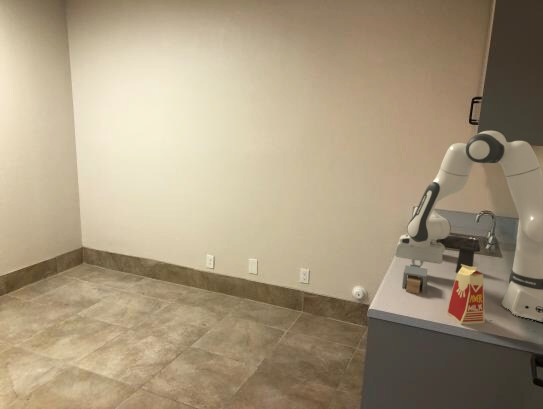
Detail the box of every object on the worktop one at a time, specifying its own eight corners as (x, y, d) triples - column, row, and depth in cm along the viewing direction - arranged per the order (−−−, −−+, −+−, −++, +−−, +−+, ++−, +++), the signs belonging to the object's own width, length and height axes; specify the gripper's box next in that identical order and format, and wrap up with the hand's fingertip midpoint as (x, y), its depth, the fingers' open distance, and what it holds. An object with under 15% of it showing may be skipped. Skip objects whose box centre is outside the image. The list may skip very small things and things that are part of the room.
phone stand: (469, 275, 179) (473, 250, 176) (455, 272, 182) (458, 247, 180) (472, 269, 186) (476, 245, 184) (458, 266, 190) (462, 243, 187)
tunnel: (403, 280, 171) (405, 265, 170) (425, 283, 168) (427, 268, 166) (402, 287, 163) (403, 272, 162) (425, 292, 160) (427, 276, 158)
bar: (409, 272, 181) (410, 264, 180) (418, 274, 179) (419, 265, 178) (406, 287, 164) (407, 278, 164) (416, 289, 163) (417, 280, 162)
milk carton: (484, 323, 136) (493, 268, 132) (461, 325, 134) (469, 270, 130) (466, 310, 145) (474, 259, 141) (444, 312, 143) (451, 260, 139)
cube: (406, 286, 164) (408, 275, 163) (419, 289, 162) (420, 277, 161) (405, 291, 160) (407, 279, 159) (418, 293, 158) (420, 282, 157)
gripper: (445, 241, 176) (441, 270, 179) (397, 235, 184) (394, 262, 187) (445, 245, 170) (441, 275, 173) (396, 238, 178) (393, 267, 181)
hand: (416, 269), depth 180 cm, fingers closed
